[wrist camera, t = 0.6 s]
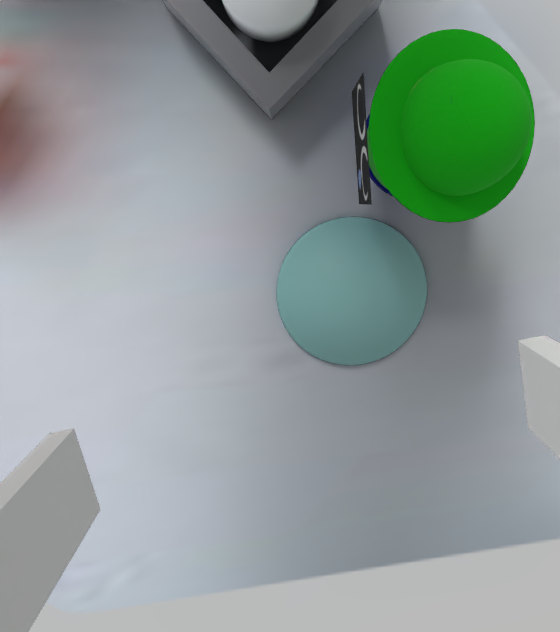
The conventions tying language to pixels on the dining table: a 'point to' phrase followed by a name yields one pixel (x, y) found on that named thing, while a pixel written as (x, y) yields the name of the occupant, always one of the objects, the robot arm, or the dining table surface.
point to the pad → (351, 290)
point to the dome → (270, 17)
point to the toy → (445, 127)
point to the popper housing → (294, 68)
